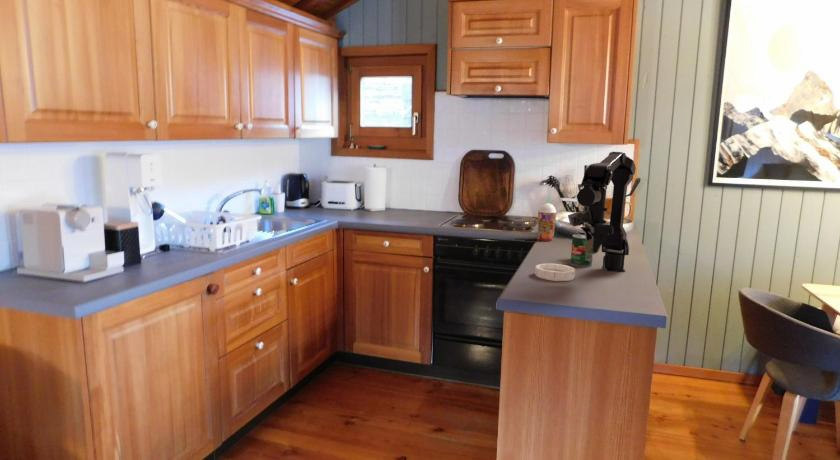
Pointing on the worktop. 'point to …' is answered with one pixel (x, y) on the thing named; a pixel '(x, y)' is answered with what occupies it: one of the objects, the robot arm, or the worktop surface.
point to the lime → (589, 247)
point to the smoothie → (546, 221)
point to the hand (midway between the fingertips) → (592, 250)
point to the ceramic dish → (555, 272)
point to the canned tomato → (580, 252)
